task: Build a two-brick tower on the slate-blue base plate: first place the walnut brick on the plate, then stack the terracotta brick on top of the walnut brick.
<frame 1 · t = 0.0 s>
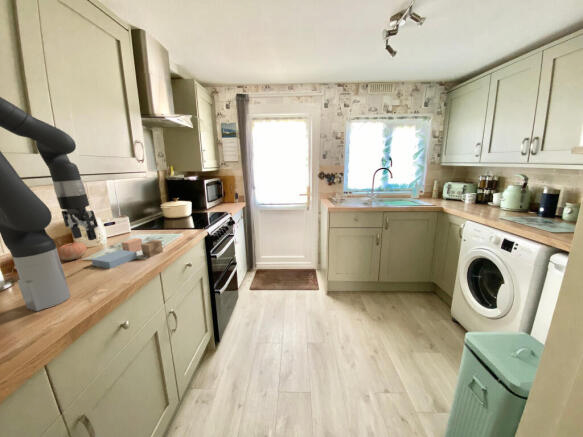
hand: (85, 238, 83), 17 cm above the worktop, tool pointing down, fingers open, 8 cm apart
reddish brown rounded lump: (74, 259, 112), on the worktop
terracotta brick: (133, 251, 118), on the worktop
walnut brick: (153, 254, 113), on the worktop
base plate: (115, 261, 106), on the worktop
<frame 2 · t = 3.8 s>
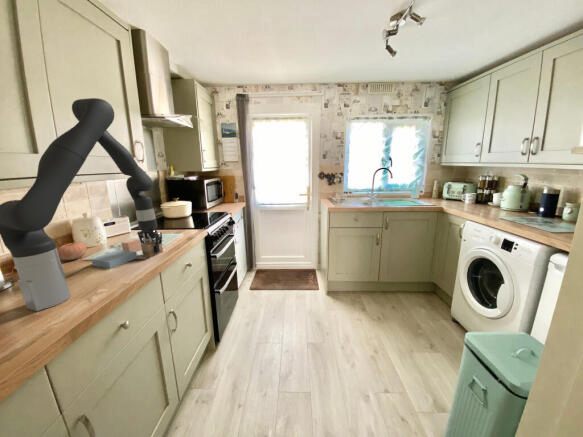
hand: (153, 251, 113), 1 cm above the worktop, tool pointing down, fingers closed on walnut brick, 5 cm apart
walnut brick: (153, 253, 113), on the worktop, touching gripper
everything else where it was.
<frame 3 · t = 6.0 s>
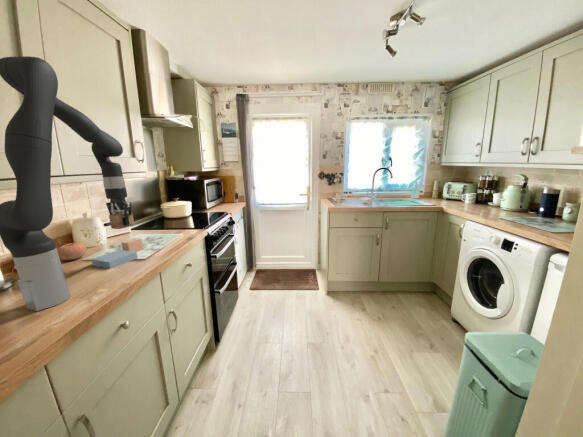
hand: (122, 224, 104), 17 cm above the worktop, tool pointing down, fingers closed on walnut brick, 5 cm apart
walnut brick: (123, 226, 104), point 16 cm above the worktop, touching gripper
everything else where it was.
when the fingers open (5 cm above the worktop, at t = 8.7 s): walnut brick drops 1 cm, resting on base plate.
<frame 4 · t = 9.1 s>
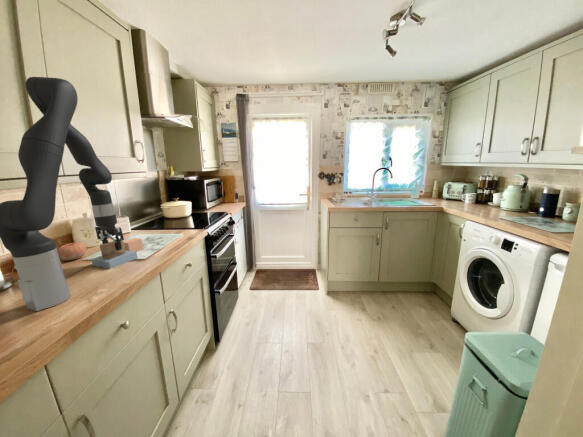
hand: (112, 249, 104), 6 cm above the worktop, tool pointing down, fingers open, 8 cm apart
walnut brick: (114, 255, 105), point 3 cm above the worktop, touching base plate
everything else where it was.
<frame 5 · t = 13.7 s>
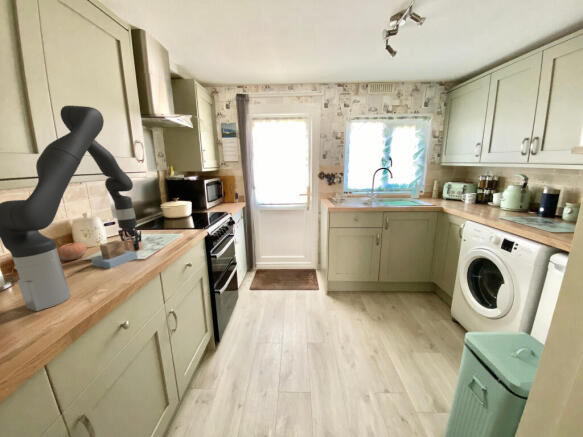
hand: (133, 249, 118), 1 cm above the worktop, tool pointing down, fingers closed on terracotta brick, 5 cm apart
terracotta brick: (133, 251, 118), on the worktop, touching gripper
everything else where it was.
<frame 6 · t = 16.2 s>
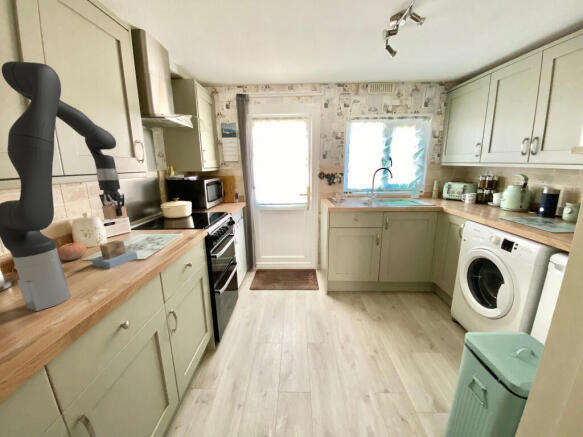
hand: (115, 215, 107), 20 cm above the worktop, tool pointing down, fingers closed on terracotta brick, 5 cm apart
terracotta brick: (116, 218, 108), point 19 cm above the worktop, touching gripper
everything else where it was.
when the fingers open (11 cm above the worktop, at t = 19.0 s): terracotta brick stays where it is, resting on walnut brick.
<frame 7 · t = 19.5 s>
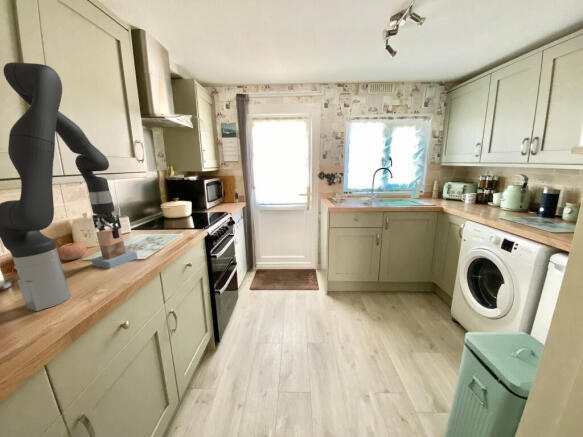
hand: (110, 237, 103), 12 cm above the worktop, tool pointing down, fingers open, 8 cm apart
terracotta brick: (111, 243, 104), point 9 cm above the worktop, touching walnut brick
walnut brick: (114, 255, 105), point 3 cm above the worktop, touching base plate, terracotta brick
everything else where it was.
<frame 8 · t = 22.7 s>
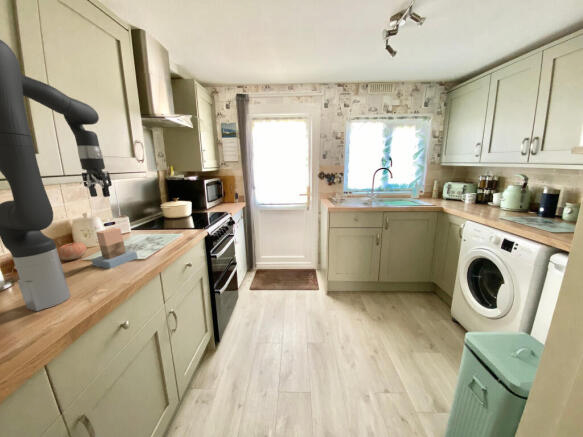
hand: (100, 196, 99), 30 cm above the worktop, tool pointing down, fingers open, 8 cm apart
nothing on the worktop moved.
at the end: walnut brick 0.1 cm off-centre on the base plate, point 3.0 cm above the base plate's base; terracotta brick 0.0 cm off-centre on the base plate, point 9.0 cm above the base plate's base; terracotta brick tilted 0° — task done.
